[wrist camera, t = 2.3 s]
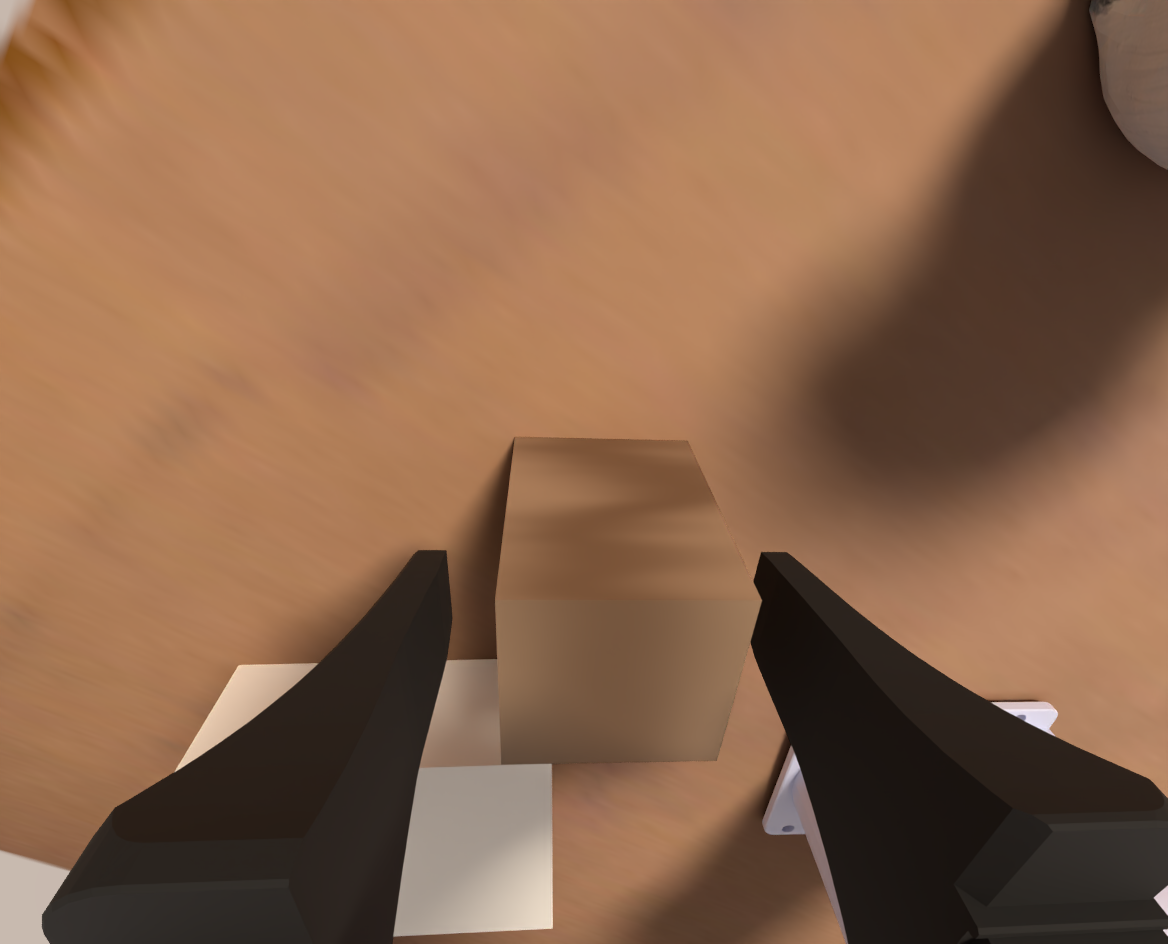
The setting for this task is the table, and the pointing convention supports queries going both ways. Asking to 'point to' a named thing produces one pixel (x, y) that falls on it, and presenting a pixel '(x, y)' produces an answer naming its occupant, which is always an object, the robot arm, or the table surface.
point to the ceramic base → (445, 805)
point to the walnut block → (617, 605)
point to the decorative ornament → (1135, 70)
